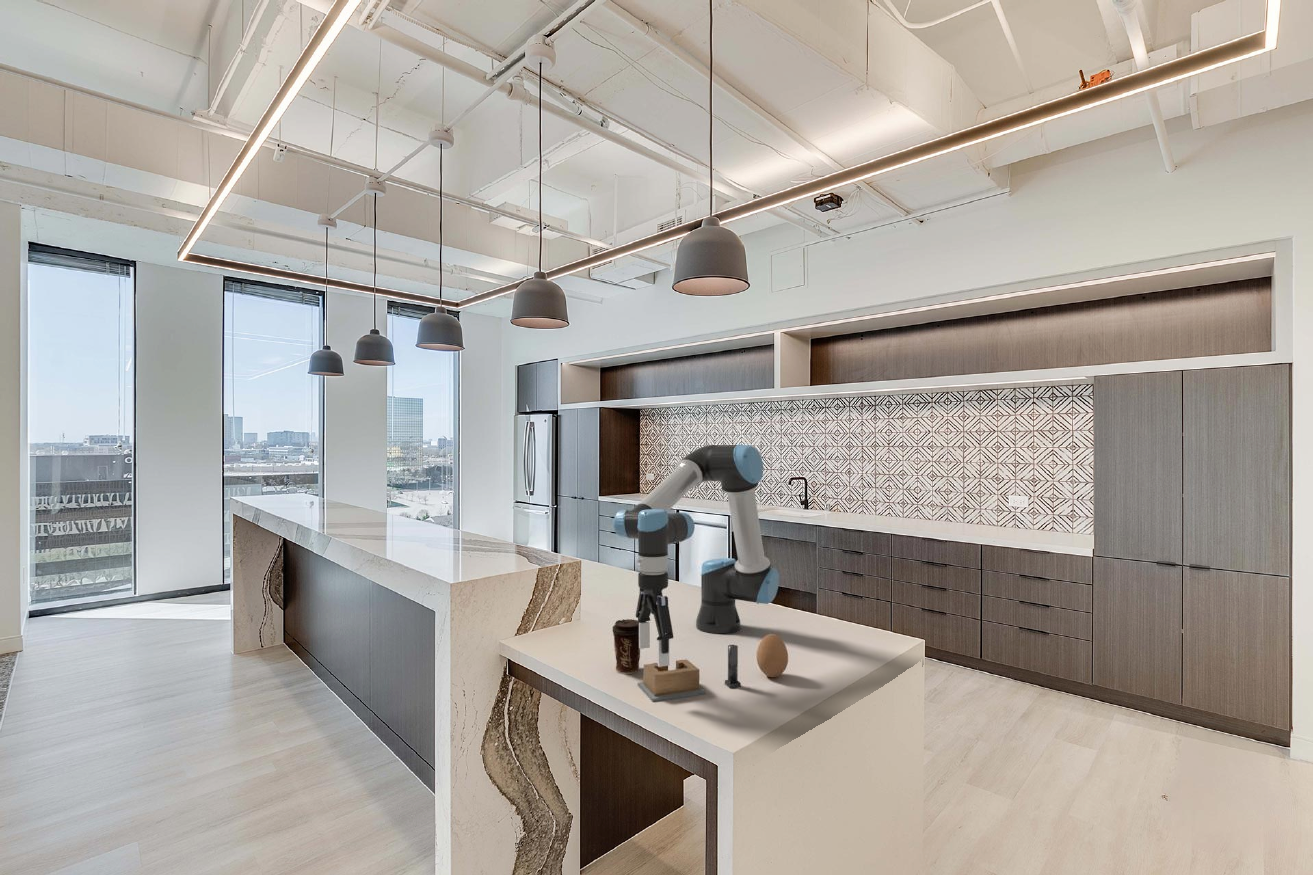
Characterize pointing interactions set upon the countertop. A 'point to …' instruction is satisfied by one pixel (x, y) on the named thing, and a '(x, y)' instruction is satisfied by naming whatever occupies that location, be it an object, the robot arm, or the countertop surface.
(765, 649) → the egg
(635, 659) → the coffee cup
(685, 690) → the c link
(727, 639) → the countertop surface
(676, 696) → the mat
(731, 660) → the post stand
